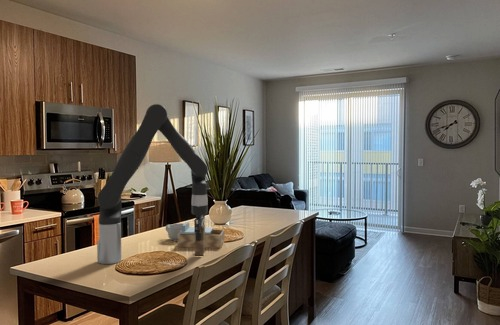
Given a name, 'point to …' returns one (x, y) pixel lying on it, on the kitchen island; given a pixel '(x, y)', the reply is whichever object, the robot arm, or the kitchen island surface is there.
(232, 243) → the kitchen island surface
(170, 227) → the teacup
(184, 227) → the lid
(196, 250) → the brown rectangular block
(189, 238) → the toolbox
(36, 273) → the kitchen island surface
